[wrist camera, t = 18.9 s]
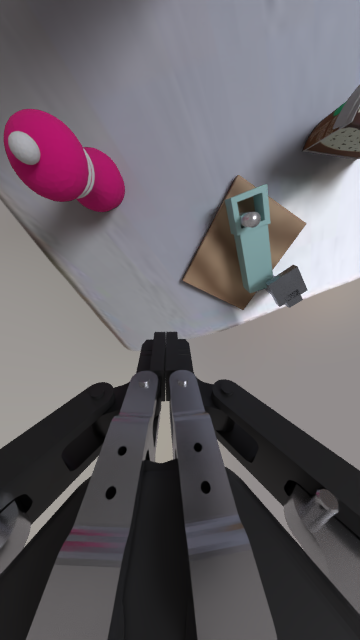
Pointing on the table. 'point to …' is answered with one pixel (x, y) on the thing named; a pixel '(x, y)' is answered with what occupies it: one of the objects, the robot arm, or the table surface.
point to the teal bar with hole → (252, 240)
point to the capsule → (249, 219)
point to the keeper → (287, 287)
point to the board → (221, 254)
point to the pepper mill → (60, 162)
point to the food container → (338, 131)
